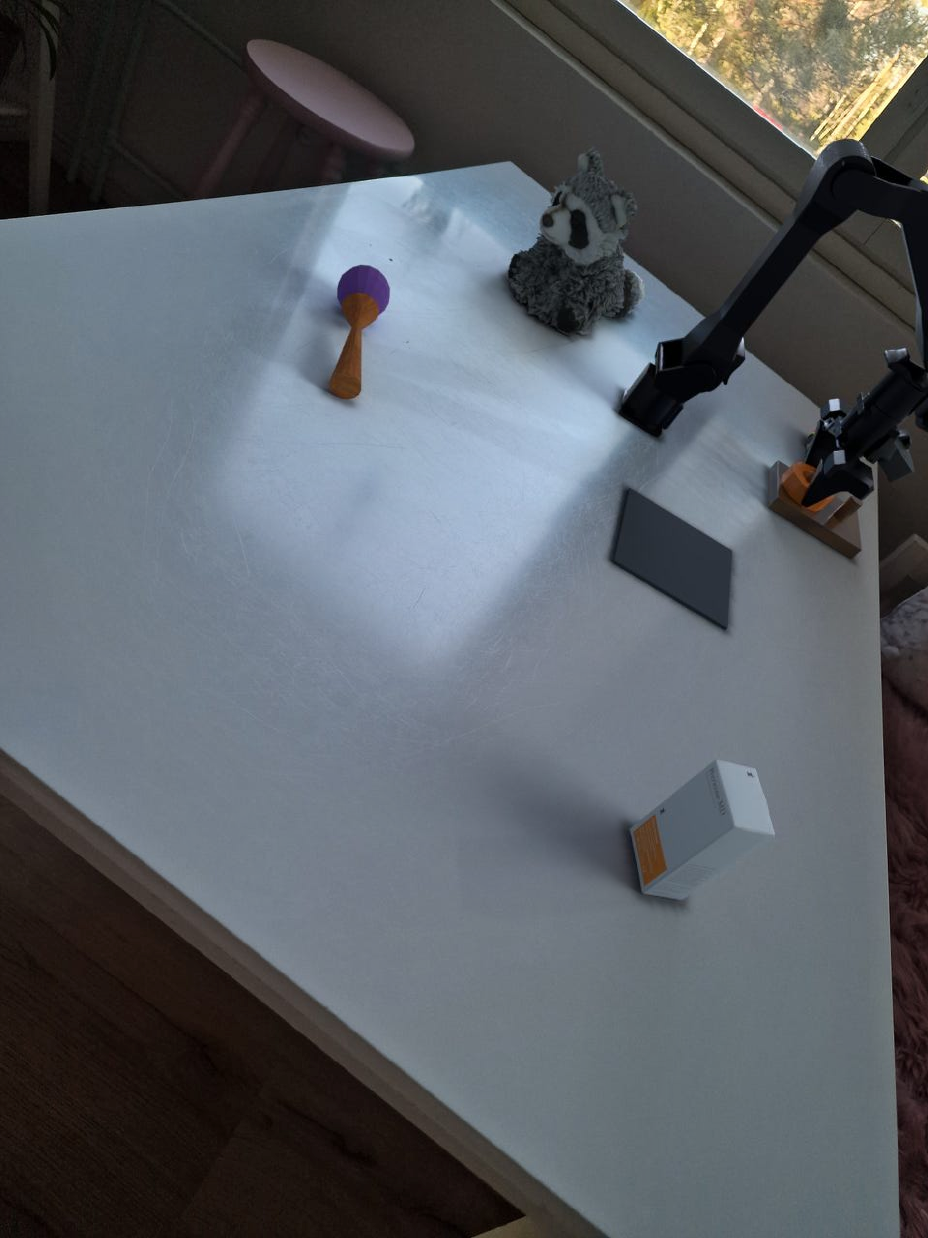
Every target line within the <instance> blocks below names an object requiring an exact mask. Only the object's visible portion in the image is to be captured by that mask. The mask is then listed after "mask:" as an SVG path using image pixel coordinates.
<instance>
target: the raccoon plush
mask: <svg viewBox="0 0 928 1238" xmlns="http://www.w3.org/2000/svg"><path fill="white" fill-rule="evenodd" d="M601 157H602V155H601V153H599V150H596V149H595V146H592V147H591V148H590V149H589V150H587V152H584V153H580V154H579V156H578V157H577V165H578V166H577V168H578V172H576V173H574V174H573V175H571V177H569V178H567V179H565V181H562V183H561V184H559V185H558V186H555V185H554V186H553V188H554V190H555V191H554V192H550V199H549V202H550V204H551V205H548V206H547V208H546V209H545V210H544V211H543V212H542V214H541V215H540V218H539V230H540V233H539V232H538V235H539V236H537V237H536V242H535V243H534V244H533V245H532V247H529V248H528V250H523V249H520V251H519V252H517V253H514V254H513V256H512V257H511V258H510V263H509V266H508V270H507V278H508V281H509V283H510V287H512V289H513V295H514V296H515V297H514V298H515V299H516V301H517V300H518V302H519V303H521V304H522V303H523V304H527V306H526V308H527V310H528V312H527V314H528V315H532V316H534V317H538V320H540V321H541V322H543V323H544V324H546V325H547V324H549V323H550V325H551V327H554V328H556V330H557V331H559V332H561V333H562V334H564V335H566V336H568V337H573V336H576V334H580V335H581V336H590V335H591V334H590V331H591V330H592V328H594V325H595V324H596V322H598V321H599V319H600V318H601V316H605V317H610V318H612V317H614V318H616V319H622V318H625V317H626V315H627V314H628V315H630V314H631V312H633V311H634V309H635V308H636V306H638V305H639V304H640V303H641V302H642V301H643V299H644V298H645V296H646V289H645V288H646V285H645V283H644V282H643V279H642V278H641V277H640V275H638V274H637V273H636V271H632V270H631V269H628V268H625V266H624V261H625V259H626V257H625V255H624V252H623V251H624V248H623V247H622V246H621V243H622V244H623V243H624V242H626V241H627V237H628V236H629V230H628V226H631V221H633V219H634V218H635V216H636V215H637V211H638V205H637V204H638V202H637V200H636V199H635V198H634V193H633V192H630V190H625V187H624V186H623V185H622V186H618V184H614V183H615V181H613V180H610V179H606V176H605V175H604V173H605V169H604V167H605V166H604V162H603V159H601Z"/></svg>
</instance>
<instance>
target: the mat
mask: <svg viewBox="0 0 928 1238" xmlns="http://www.w3.org/2000/svg"><path fill="white" fill-rule="evenodd" d="M619 525H620V526H619V531H618V535H617V540H616V545H615V547H614V548H615V549H614V554H613V558H612V563H614V564H615V565H616V566H618V567H620V568H621V569H623V570H625V571H626V572H628V573H630V574H632V575H633V576H635V577H636V578H638V579H640V580H642V582H645V583H646V584H648V585H650V586H651V587H653V588H655V589H657V591H660V592H661V593H663V594H665V595H667V597H670V598H672V599H673V600H674V601H677V603H679V604H682V605H683V606H685V607H686V608H688V609H690V610H691V611H693V612H695V613H697V614H698V615H700V616H701V617H703V618H705V619H706V620H708V621H709V622H711V623H713V624H715V625H716V626H718V627H720V628H722V629H723V630H727V629H728V627H729V626H728V625H729V611H730V593H731V578H732V575H731V574H732V563H733V550H732V549H730V548H729V547H727V546H726V545H724V544H722V543H721V542H719V541H717V540H716V539H714V538H712V537H711V536H709V535H708V534H706V533H705V532H703V531H701V530H700V529H698V528H696V527H694V526H693V525H691V524H690V523H688V522H686V521H685V520H684V519H682V518H680V517H678V516H677V515H675V514H673V513H672V512H670V511H669V510H667V509H665V508H664V507H662V506H660V505H659V504H657V503H656V502H654V501H652V500H651V499H649V498H648V497H646V496H645V495H643V494H641V493H639V492H638V491H636V490H635V489H633V488H631V487H629V488H628V490H627V494H626V497H625V502H624V508H623V512H622V516H621V521H620V524H619Z"/></svg>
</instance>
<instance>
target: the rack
mask: <svg viewBox="0 0 928 1238" xmlns="http://www.w3.org/2000/svg"><path fill="white" fill-rule="evenodd" d="M790 467H791V466H789V465H787V464H786V463H784V462H782V461H781V460H779V459H777V460H776V461H774V463H773V465H771V466H770V467H769V469H768V489H767V491H768V493H767V495H768V497H767V499H768V501H767V507H768V508H769V510H772V511H773V512H775V513H777V514H778V515H780V516H781V517H783V518H784V519H786V520H788V521H789V522H790V523H792V524H794V525H796V526H797V527H799V528H800V529H802V530H803V531H805V532H806V533H808V534H810V535H811V536H813V537H814V538H816V539H817V540H819V541H821V542H822V543H824V544H825V545H827V546H829V547H830V548H832V549H834V550H835V551H837V552H839V553H840V554H842V555H843V556H845V557H846V558H848V559H849V560H853V559H854V558H855V557H856V556H857V555H858V554H859V553H861V552H862V550H863V549H862V540H861V531H860V521H859V512H858V510H859V509H861V507H862V506H864V502H863V501H864V500H859V499H858V498H856V497H855V496H853V495H851V494H850V496H849V497H848V498H846V500H845V501H843V500H842V499H841V498H838V497H837V496H836V495H834V498H833V499H832V500H831V501H830V502H829V503H828V504H827V505H826V506H825V507H824V508H823V509H822V510H819V511H815V512H814V511H811V510H809V509H807V508H804V507H802V506H801V505H800V504H798V503H797V502H796V501H795V500H794V499H792V498H791V497H790V496H789V494H788V493H787V491H786V490H785V488H784V487H783V485H782V475H783V474H784V473H785V472H786V471H787V470H788V469H789V468H790ZM815 471H816V470H813V471H812V472H811V473H810V474H809V475H808V476H807V477H806V478H805V479H806V481H807V482H808V483H809V484H810V482H811V480H812V478H813V475H814V473H815Z"/></svg>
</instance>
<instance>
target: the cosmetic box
mask: <svg viewBox="0 0 928 1238" xmlns="http://www.w3.org/2000/svg"><path fill="white" fill-rule="evenodd" d="M770 816H771V815H770V812H769V806H768V802H767V799H766V795H765V794H764V792H763V789H762V785H761V783H760V779H759V776H758V773H757V769H756V768H754V767H751V766H746V765H742V764H738V763H735V762H730V761H726V760H721V759H714V760H713V761H712V762H710V763H709V764H707V765H706V766H705V767H704V768H703V769H701V771H699V772H698V773H697V774H696V775H694V776H693V777H691V778H690V779H689V780H688V781H687V782H686V783H684V784H683V785H682V786H681V787H679V788H678V789H677V790H676V791H675V792H673V793H672V794H671V795H670V796H668V797H667V798H666V799H664V800H663V801H662V802H661V803H660V804H659V805H658V806H656V807H654V809H652V810H651V811H649V812H648V813H647V814H645V816H644V817H642V818H641V819H640V820H639V821H638V822H636V823H635V824H634V825H632V826H631V827H630V829H629V833H630V837H631V841H632V847H633V851H634V856H635V862H636V866H637V874H638V878H639V884H640V890H641V893H642V894H643V895H648V896H655V897H661V898H666V899H672V900H678V901H683V900H685V899H686V898H688V897H689V896H690V895H692V894H693V893H695V892H696V891H697V890H699V889H700V888H702V887H703V886H705V885H706V884H707V883H709V882H710V881H712V880H713V879H715V878H716V877H718V876H719V875H720V874H721V873H723V872H725V871H726V870H728V869H729V868H731V867H732V866H733V865H735V864H736V863H738V862H739V861H741V860H742V859H743V858H744V857H746V856H747V855H750V854H751V853H752V852H754V851H756V849H758V848H759V847H761V846H762V845H764V844H765V843H767V842H769V841H770V840H771V839H773V838H775V836H776V833H775V830H774V826H773V823H772V820H771V819H772V818H771V817H770Z"/></svg>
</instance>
